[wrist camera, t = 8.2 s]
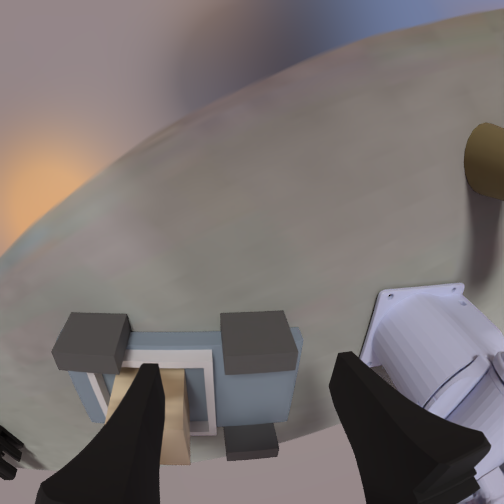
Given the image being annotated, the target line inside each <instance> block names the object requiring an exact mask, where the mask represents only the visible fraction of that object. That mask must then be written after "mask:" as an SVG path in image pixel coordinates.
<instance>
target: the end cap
mask: <svg viewBox="0 0 504 504" xmlns="http://www.w3.org/2000/svg"><path fill="white" fill-rule="evenodd" d="M23 445H24V444H23V443H22V442H21V441H20V440H18V439H17V438H16V437H15V436H13V435H12V434H11V433H10V432H8V431H7V430H6V429H5V428H4V427H2V426H1V425H0V477H1V478H2V479H4V480H13V479H14V478H15V476H16V472H17V469H16V468H15V467H13V466H12V465H11V464H9V463H8V462H6V461H5V460H4V459H3V458H2V457H3V456H4V455H5V454H4V453H3V452H2V451H4V452H6V453H7V454H8V455H10V456H11V457H12V458H14V459H15V460H17V461H18V462H20V459H21V455H22V452H21V451H20V450H18V449H19V448H23Z"/></svg>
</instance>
